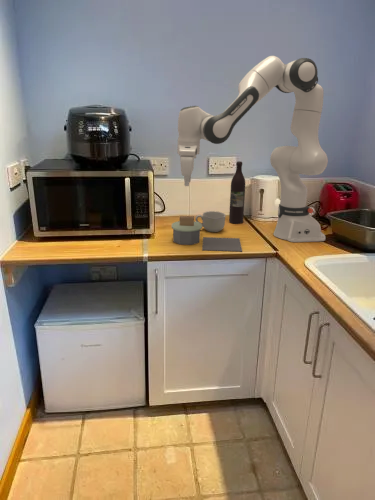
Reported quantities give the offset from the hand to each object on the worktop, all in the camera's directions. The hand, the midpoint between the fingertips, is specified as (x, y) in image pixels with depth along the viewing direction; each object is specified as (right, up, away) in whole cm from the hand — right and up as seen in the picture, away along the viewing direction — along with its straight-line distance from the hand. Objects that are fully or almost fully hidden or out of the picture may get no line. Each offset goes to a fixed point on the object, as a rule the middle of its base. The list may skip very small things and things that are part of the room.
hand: (187, 183), depth 155 cm
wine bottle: (+25, -13, +36) cm, 46 cm away
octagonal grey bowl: (0, -23, +8) cm, 24 cm away
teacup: (+11, -18, +23) cm, 31 cm away
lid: (0, -17, +6) cm, 18 cm away
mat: (+14, -25, +4) cm, 29 cm away
